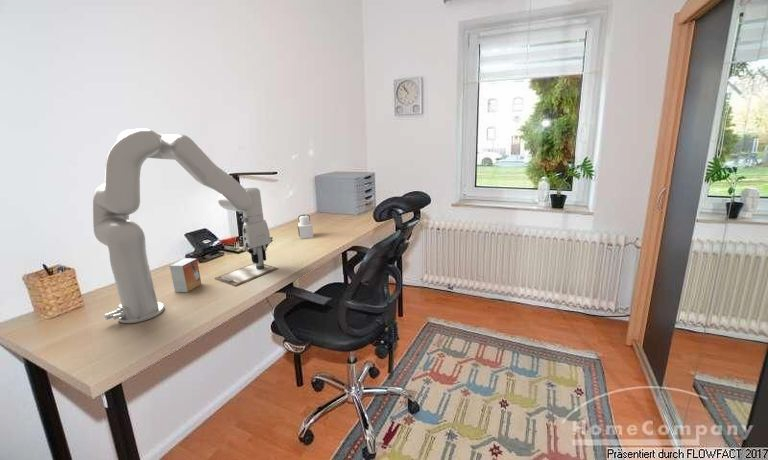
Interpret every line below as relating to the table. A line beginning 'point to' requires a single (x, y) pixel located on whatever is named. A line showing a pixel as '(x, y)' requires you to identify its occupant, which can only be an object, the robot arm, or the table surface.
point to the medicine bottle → (305, 227)
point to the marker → (259, 258)
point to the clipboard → (245, 274)
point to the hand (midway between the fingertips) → (259, 261)
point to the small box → (185, 275)
